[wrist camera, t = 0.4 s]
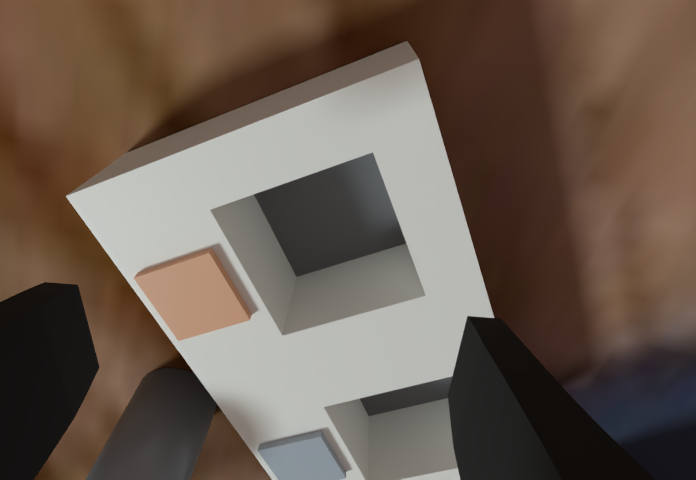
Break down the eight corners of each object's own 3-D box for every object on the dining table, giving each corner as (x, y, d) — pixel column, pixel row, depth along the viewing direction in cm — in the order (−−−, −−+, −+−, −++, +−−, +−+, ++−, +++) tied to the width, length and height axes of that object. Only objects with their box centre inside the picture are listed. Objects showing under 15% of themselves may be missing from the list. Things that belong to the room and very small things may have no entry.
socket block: (515, 405, 23) (543, 487, 19) (313, 449, 25) (303, 530, 22) (407, 40, 15) (419, 60, 11) (126, 152, 17) (59, 200, 14)
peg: (231, 413, 24) (176, 588, 17) (165, 429, 25) (88, 602, 18) (192, 359, 22) (113, 530, 16) (123, 378, 23) (19, 549, 16)
